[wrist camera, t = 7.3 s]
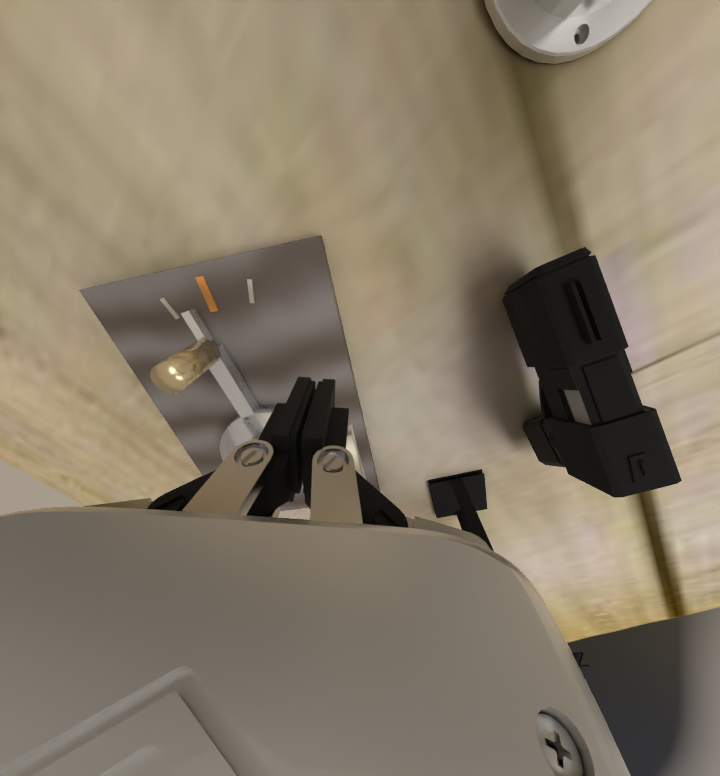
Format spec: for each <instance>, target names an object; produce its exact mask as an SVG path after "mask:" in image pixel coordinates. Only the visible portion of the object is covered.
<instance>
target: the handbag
mask: <svg viewBox="0 0 720 776" xmlns="http://www.w3.org/2000/svg"><path fill="white" fill-rule="evenodd" d="M428 483H429V487H430V492H431V496H432V500H433V505H434V509H435V513H436V517H437V518H440V517H446V516H451V515H456V514H457V517H458V520H459V522H460V525H461V528H462V530H463V531H467V532H470V533H472V534H475V535H477V536H479V537H480V538H481V539H482V540H483V541H485V542H486V544H487V545H488V546H489V548H490V549H491V550H492V551H494V550H493V548H492V546H491V544H490V541H489V539H488V537H487V535H486V532H485V530H484V528H483V526H482V523H481V521H480V519H479V517H478V514H477V512H476V511H478V510H484V509H487V501H486V489H485V478H484V473H483V474H482V470H477V471H472V472H467V473H462V474H457V475H452V476H448V477H443V478H438V479H433V480H428ZM572 654H573V656H574V658H575V660H576V662H577V664H578V666H579V668H580V670H581V672H582V674H583V676H584V678H585V679H586V676H587V673H588V670H589V667H590V665H581V666H580V662H581V659H582V655H583V652H579V653H572Z"/></svg>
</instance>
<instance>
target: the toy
mask: <svg viewBox="0 0 720 776" xmlns="http://www.w3.org/2000/svg"><path fill="white" fill-rule="evenodd" d="M590 253H591V252H590V251H589V250H588V249H586V248H585V247H584V248H582V249H579V250H577V251H574V252H572V253H569V254H567V255H565V256H562V257H560V258H558V259H555V260H553V261H550V262H548V263H546V264H543V265H541V266H539V267H537V268H535V269H533V270H532V271H530V272H529V273H527V274H526V275H524V276H523V277H522V278H520V279H519V280H517V281H516V282H515V283H513V284H512V285H510V286H509V288H508V289H507V291H506V293H505V294H504V295H506V296H505V297H504V298H503V303H504V306H505V309H506V311H507V314H508V317H509V319H510V322H511V325H512V327H513V330H514V333H515V335H516V338H517V341H518V343H519V346H520V349H521V351H522V354H523V357H524V359H525V362H526V365H527V367H535V369H536V372H537V375H538V377H539V394H540V403H541V410H542V416H541V417H538V418H535V419H532V420H529V421H526V422H524V425H523V429H524V431H525V433H526V435H527V437H528V440H529V442H530V444H531V446H532V448H533V450H534V452H535V454H536V456H537V458H538V460H539V461H540V462H542V463H543V464H545V465H551V466H559V467H566V469H567V472H568V474H569V475H571V476H573V477H575V478H577V479H579V480H581V481H583V482H585V483H587V484H589V485H591V486H593V487H595V488H597V489H599V490H601V491H603V492H605V493H607V494H609V495H611V496H613V497H625V496H629V495H633V494H637V493H641V492H645V491H649V490H653V489H657V488H661V487H665V486H669V485H672V484H676V483H678V482H680V481H682V480H681V478H680V475H679V472H678V469H677V466H676V464H675V461H674V458H673V455H672V453H671V450H670V447H669V444H668V442H667V439H666V436H665V433H664V431H663V428H662V425H661V422H660V420H659V417H658V414H657V411H656V409H655V408H651V407H647V406H643V405H642V403H641V400H640V398H639V395H638V392H637V389H636V387H635V384H634V381H633V378H632V376H631V373H632V369H631V366H630V363H629V361H628V358H627V355H626V352H625V350H624V349H625V348H627V347H628V344H627V341H626V338H625V336H624V333H623V330H622V327H621V325H620V322H619V319H618V316H617V314H616V311H615V308H614V305H613V303H612V300H611V297H610V294H609V292H608V289H607V286H606V283H605V281H604V278H603V275H602V272H601V270H600V267H599V264H598V261H597V259H596V256H595V255H594V256H589V254H590Z"/></svg>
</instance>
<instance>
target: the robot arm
mask: <svg viewBox="0 0 720 776" xmlns="http://www.w3.org/2000/svg"><path fill="white" fill-rule="evenodd" d="M484 2H485V6H486V9H487V11H488V13H489V15H490V17H491V20H492V22H493V24H494V26H495V28H496V30H497V31H498V32H499V34H500V35H501V36H502V38H503V39H504V40H505V42H506V43H507V44H508V45H509V46H510V47H511V48H512V49H514V50H515V51H516V52H517V53H519V54H520V55H521V56H523V57H525V58H528V59H531V60H533V61H536V62H538V63H552V64H557V63H562V62H567V61H572V60H575V59H578V58H580V57H582V56H584V55H587V54H589V53H591V52H593V51H595V50H596V49H598V48H599V47H601V46H602V45H603V44H605V43H606V42H608V41H609V40H611V39H612V38H613V37H615V36H616V35H617V34H618V33H619V32H620V31H622V30H623V29H624V28H625V27H626V26H627V25H629V24H630V23H631V22H632V21H634V20H635V19H636V18H637V16H638V15H639V14H640V13H641V12H642V11H643V10H644V9H645V8H646V7H647V6H648V5H649V4H650V3H651V2H652V0H484ZM335 383H336V381H335V379H323V381H318V384H317V387H316V383H315V381H311V377H298V378H297V380H296V383H295V385H294V387H293V389H292V391H291V393H290V395H289V398H288V400H287V402H286V403H277V404H276V406H275V408H274V410H273V412H272V414H271V415H270V417H269V419H268V421H267V423H266V425H265V427H264V429H263V431H262V433H261V435H260V437H259V439H258V440H250V441H246V442H243V443H241V444H240V445H238V446H236V447H235V448H234V449H233V450H232V451H231V452H230V454H229V455H228V456H227V457H226V458H225V460H224V461H223V462H222V463H221V464H220V466H219V467H218V468H217V469H216V470H214V471H212V472H210V473H208V474H206V475H204V476H202V477H199V478H197V479H195V480H193V481H191V482H189V483H187V484H185V485H183V486H180V487H178V488H176V489H174V490H172V491H170V492H168V493H166V494H164V495H162V496H160V497H159V498H157V499H156V500H155V501H152V500H151V498H147V499H139V500H131V501H123V502H115V503H107V504H98V505H90V506H83V507H54V508H42V509H35V510H27V511H19V512H14V513H10V514H6V515H1V516H0V776H630V774H629V772H628V770H627V767H626V765H625V763H624V761H623V759H622V756H621V754H620V752H619V750H618V748H617V746H616V744H615V741H614V739H613V737H612V735H611V733H610V730H609V728H608V726H607V724H606V722H605V720H604V718H603V715H602V713H601V711H600V709H599V707H598V705H597V703H596V701H595V699H594V697H593V695H592V693H591V691H590V689H589V687H588V685H587V683H586V680H585V678H584V676H583V674H582V672H581V670H580V668H579V666H578V664H577V662H576V660H575V658H574V656H573V654H572V652H571V651H570V648H569V646H568V644H567V643H566V641H565V639H564V637H563V635H562V633H561V631H560V629H559V627H558V625H557V624H556V622H555V620H554V618H553V616H552V615H551V613H550V611H549V609H548V608H547V606H546V604H545V603H544V601H543V599H542V598H541V596H540V595H539V593H538V592H537V590H536V589H535V587H534V586H533V584H532V583H531V582H530V581H529V579H528V578H527V577H526V576H525V575H524V574H523V573H522V572H521V570H520V569H518V568H517V567H516V566H515V565H514V564H512V563H511V562H510V561H508V560H507V559H505V558H504V557H502V556H501V555H499V554H497V553H495V552H494V551H492V550H491V549H490V548H489V546H488V545H487V544H486V542H485V541H483V540H482V539H481V538H480V537H479V536H477V535H475V534H472V533H470V532H467V531H463V530H460V529H456V528H453V527H450V526H446V525H443V524H439V523H436V522H432V521H429V520H426V519H422V518H419V517H415V518H414V519H411V518H407V517H405V515H404V514H403V513H402V512H401V511H400V509H398V508H397V507H396V506H395V505H394V504H393V503H392V502H391V501H389V500H388V499H387V498H386V497H385V496H384V495H383V494H382V493H380V492H379V491H378V490H377V489H376V488H375V487H374V486H373V485H371V484H370V483H369V482H368V481H367V480H366V479H365V478H364V477H363V476H361V475H360V474H359V473H358V472H357V471H356V470H355V465H354V459H353V456H352V454H351V453H350V452H349V450H347V449H346V443H347V432H348V419H349V408H338V407H335ZM302 484H303V494H304V496H305V503H306V505H307V506H308V507H309V508H310V509H311V514H310V520H303V519H289V518H277V517H278V515H279V512H280V506H282V505H283V504H285V503H286V502H293V500H294V497H295V493H297V494H300V492H301V488H302Z"/></svg>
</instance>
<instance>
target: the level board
mask: <svg viewBox="0 0 720 776" xmlns="http://www.w3.org/2000/svg"><path fill="white" fill-rule="evenodd" d="M79 291H80V292H81V294H82V295H83V297H84V298H85V300H86V301H87V303H88V304H89V306H90V307H91V309H92V310H93V312H94V313H95V315H96V316H97V318H98V319H99V321H100V322H101V324H102V325H103V327H104V328H105V330H106V331H107V333H108V334H109V336H110V337H111V339H112V340H113V342H114V343H115V345H116V346H117V348H118V349H119V351H120V352H121V354H122V355H123V357H124V358H125V360H126V361H127V363H128V364H129V366H130V367H131V369H132V370H133V372H134V373H135V375H136V376H137V378H138V379H139V381H140V382H141V384H142V385H143V387H144V388H145V390H146V391H147V393H148V394H149V396H150V397H151V399H152V400H153V402H154V403H155V405H156V406H157V408H158V409H159V411H160V412H161V414H162V415H163V417H164V418H165V420H166V421H167V423H168V424H169V426H170V427H171V429H172V430H173V432H174V433H175V435H176V436H177V438H178V439H179V441H180V442H181V444H182V445H183V447H184V448H185V450H186V451H187V453H188V454H189V456H190V457H191V459H192V460H193V462H194V463H195V465H196V466H197V468H198V469H199V471H200V472H201V474H202V475H203V476H204V475H206V474H208V473H210V472H212V471H214V470H216V469H217V468H218V467H219V466H220V464H221V463H222V462H223V460H222V458H221V454H220V441H221V437H222V435H223V433H224V432H225V430H226V429H227V427H228V426H229V425H230V423H231V422H232V420H233V419H234V418H235V417H236V416H238V415H239V414H238V413H237V411H236V410H235V408H234V406H233V405H232V403H231V402H230V400H229V399H228V397H227V396H226V394H225V393H224V391H223V389H222V388H221V386H220V385H219V383H218V382H217V380H216V379H215V377H214V375H213V374H212V372H211V371H210V369H208V370H207V371H205V372H204V373H203V374H202V375H201V376H199V377H198V378H197V379H196V380H195V381H193V382H192V383H191V384H190V385H188V386H187V387H186V388H185V389H184V390H182V391H181V392H179V393H176V394H171V393H167V392H164V391H162V390H160V389H159V388H158V387H156V386H155V384H154V383H153V382H152V380H151V377H150V372H151V369H152V368H153V367H154V366H156V365H157V364H159V363H161V362H163V361H164V360H166V359H168V358H169V357H171V356H173V355H174V354H176V353H178V352H179V351H181V350H183V349H184V348H186V347H188V346H189V345H191V344H193V343H195V342H196V341H198V340H197V339H196V337H195V336H194V334H193V332H192V331H191V329H190V328H189V326H188V324H187V323H186V321H185V320H184V318H183V317H182V315H181V313H183V312H186V311H189V310H191V309H194V308H195V309H196V311H197V313H198V314H199V316H200V318H201V319H202V321H203V323H204V324H205V326H206V328H207V329H208V331H209V333H210V334H211V336H212V338H213V340H211V341H212V342H214V343H215V344H216V345H220V344H223V346H224V347H225V349H226V351H227V353H228V354H229V356H230V358H231V359H232V361H233V363H234V364H235V366H236V368H237V369H238V371H239V373H240V375H241V376H242V378H243V380H244V381H245V383H246V385H247V386H248V388H249V390H250V392H251V393H252V395H253V397H254V398H255V400H256V402H257V403H258V405H259V407H261V406H276V404H277V403H286V402H287V400H288V398H289V395H290V393H291V391H292V389H293V387H294V385H295V383H296V380H297V378H298V377H311V381H315V383H316V387H317V384H318V381H323V379H335V381H336V383H335V407H338V408H349V419H348V432H347V443H346V449H347V450H349V452H350V453H351V454H352V456H353V459H354V465H355V470H356V471H357V472H358V473H359V474H360V475H361V476H363V477H364V478H365V479H366V480H367V481H368V482H369V483H370V484H371V485H373V486H374V487H375V488H376V489H377V490H378V491H379V492H380V490H379V485H378V480H377V476H376V472H375V467H374V463H373V458H372V454H371V450H370V445H369V441H368V436H367V432H366V428H365V423H364V419H363V415H362V410H361V406H360V401H359V397H358V393H357V388H356V384H355V379H354V375H353V371H352V366H351V362H350V357H349V353H348V349H347V344H346V340H345V335H344V331H343V327H342V322H341V318H340V313H339V309H338V305H337V300H336V296H335V291H334V287H333V283H332V278H331V274H330V269H329V265H328V261H327V256H326V252H325V247H324V243H323V239H322V236H316V237H312V238H307V239H303V240H298V241H294V242H290V243H285V244H281V245H276V246H272V247H268V248H263V249H259V250H254V251H250V252H245V253H241V254H237V255H232V256H228V257H223V258H219V259H214V260H210V261H206V262H201V263H197V264H192V265H188V266H184V267H179V268H175V269H170V270H166V271H161V272H157V273H153V274H148V275H144V276H139V277H135V278H130V279H126V280H122V281H117V282H113V283H108V284H104V285H100V286H95V287H91V288H86V289H82V290H79ZM307 507H308V506H307V505H306V503H305V496H304V494H303V489H301V492H300V494H297V493H295V497H294V500H293V502H286V503H285V504H283V505H282V506H280V511H285V510H292V509H300V508H307Z"/></svg>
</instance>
